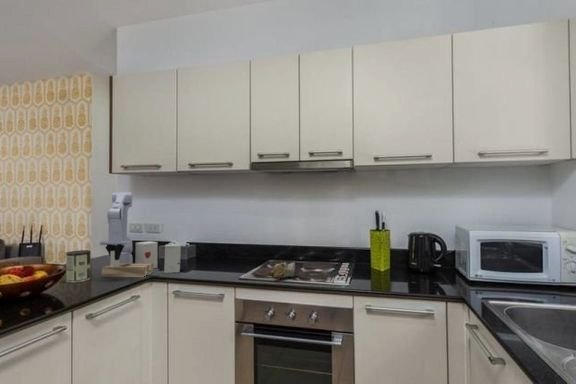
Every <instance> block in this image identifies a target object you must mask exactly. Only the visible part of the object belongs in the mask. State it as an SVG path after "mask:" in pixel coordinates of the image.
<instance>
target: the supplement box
mask: <svg viewBox="0 0 576 384" xmlns="http://www.w3.org/2000/svg"><path fill="white" fill-rule="evenodd" d="M158 251H159V250H158V241H140V242H135V263H153V269H157V268H158Z"/></svg>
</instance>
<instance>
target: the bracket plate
mask: <svg viewBox="0 0 576 384" xmlns="http://www.w3.org/2000/svg"><path fill="white" fill-rule="evenodd" d="M109 261H110V264H109V265H110V267H117V266H119V262H120V258H119V260H116V258H115V250H112V251H111V259H109Z"/></svg>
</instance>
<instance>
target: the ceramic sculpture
mask: <svg viewBox="0 0 576 384" xmlns="http://www.w3.org/2000/svg"><path fill="white" fill-rule="evenodd" d="M295 271H296V262H295V261H294V262H290V263H288V262H286V261H284V260H281V261H280V263H276V264H275V265H274V267H273V269H272V270H271V271H269V272H265V273H264V274H265V275H267V276H270V277H271V278H272V279H276V280H280V278H281V279H284V278H286V277H290V278H292V277H295Z"/></svg>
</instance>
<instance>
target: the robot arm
mask: <svg viewBox="0 0 576 384" xmlns="http://www.w3.org/2000/svg"><path fill="white" fill-rule="evenodd" d="M111 195H112V196H111V201H112V204H111V207H110V208H109V209H108V210H107V213H106V217H107V224H108V240H101V241H99V246H105V249H106V251H107V253H108V255H109V258H110V259H111V251H112V250H115V258H116V260H119V258H120V262H119V263H133V255H132V252H133V239H132V238H131V237H129V236H128V214H129V213H128V212H129V208H131V207H132V205H133V192H131V191H129V192H128V191H127V192H124V191H123V192H119V191H118V192H117V191H116V192H115V191H114V192H112V194H111ZM110 259H109V260H110Z"/></svg>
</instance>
